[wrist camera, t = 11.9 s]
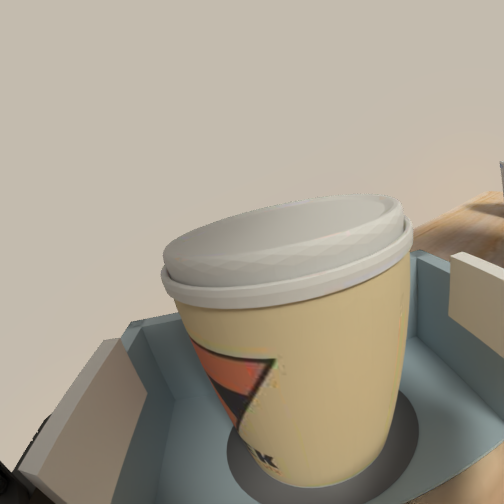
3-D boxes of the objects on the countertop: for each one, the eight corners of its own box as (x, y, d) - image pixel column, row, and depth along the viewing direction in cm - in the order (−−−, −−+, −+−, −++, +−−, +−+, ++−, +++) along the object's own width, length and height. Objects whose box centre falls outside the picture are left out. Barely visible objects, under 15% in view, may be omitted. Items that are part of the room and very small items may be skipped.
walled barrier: (420, 329, 21) (420, 249, 19) (522, 424, 8) (564, 320, 6) (165, 396, 20) (131, 321, 19) (133, 541, 8) (44, 470, 6)
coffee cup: (225, 410, 17) (163, 234, 14) (352, 363, 19) (329, 191, 16) (261, 528, 8) (132, 297, 5) (435, 443, 10) (465, 197, 7)
